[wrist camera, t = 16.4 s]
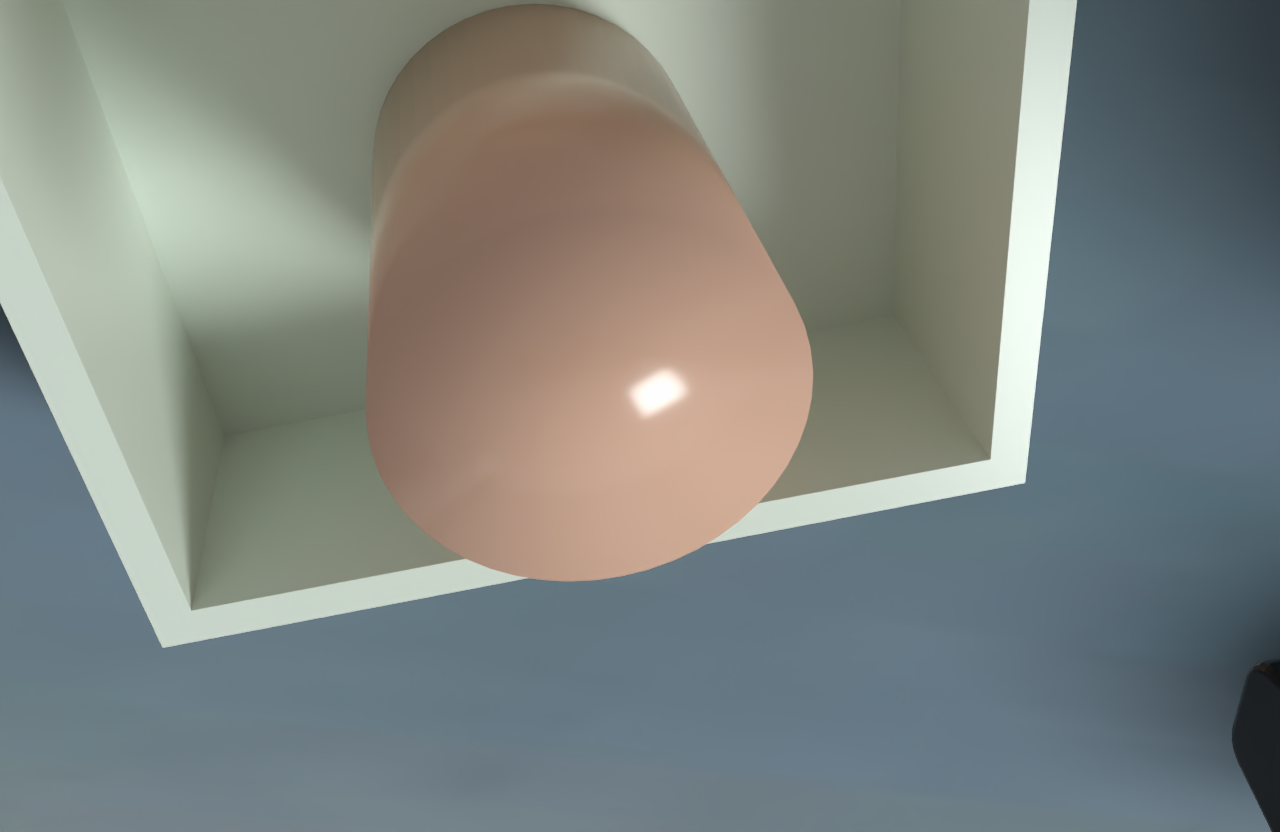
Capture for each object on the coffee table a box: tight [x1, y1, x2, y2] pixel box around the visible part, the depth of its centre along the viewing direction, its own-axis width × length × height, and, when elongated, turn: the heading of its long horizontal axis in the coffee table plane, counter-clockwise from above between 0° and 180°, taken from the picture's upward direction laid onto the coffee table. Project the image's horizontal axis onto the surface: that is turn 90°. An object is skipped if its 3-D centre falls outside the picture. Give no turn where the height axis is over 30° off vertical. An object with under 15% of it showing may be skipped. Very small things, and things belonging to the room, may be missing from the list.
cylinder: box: [366, 4, 813, 581], centre depth 16 cm, size 5×5×7 cm
